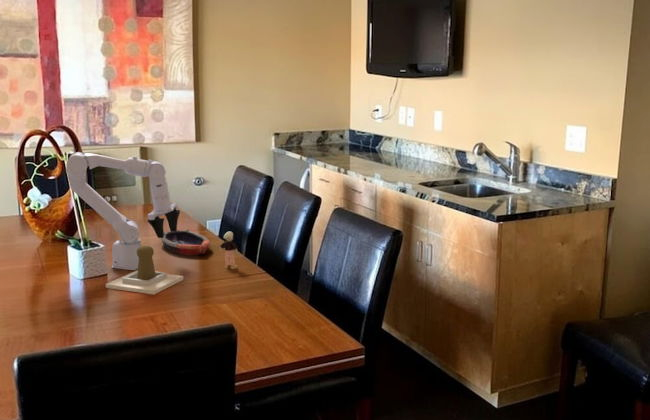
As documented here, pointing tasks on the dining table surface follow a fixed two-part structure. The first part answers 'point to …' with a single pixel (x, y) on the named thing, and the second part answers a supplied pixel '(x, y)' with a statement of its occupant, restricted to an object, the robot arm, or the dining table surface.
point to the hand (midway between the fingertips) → (167, 234)
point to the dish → (185, 242)
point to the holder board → (145, 282)
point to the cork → (145, 263)
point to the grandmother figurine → (229, 250)
